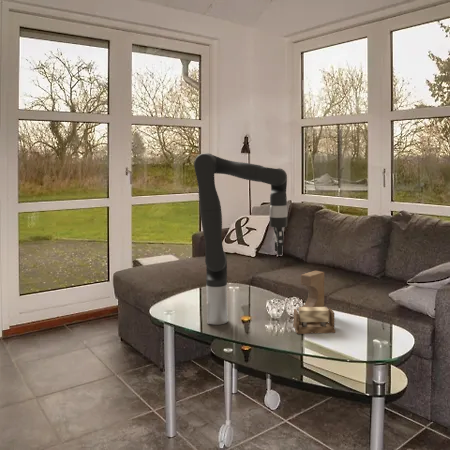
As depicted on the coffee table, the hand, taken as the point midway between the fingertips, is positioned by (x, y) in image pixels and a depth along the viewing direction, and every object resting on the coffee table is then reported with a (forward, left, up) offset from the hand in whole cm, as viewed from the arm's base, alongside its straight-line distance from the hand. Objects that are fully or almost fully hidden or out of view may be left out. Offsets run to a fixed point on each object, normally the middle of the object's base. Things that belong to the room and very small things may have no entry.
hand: (278, 253), depth 220 cm
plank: (+14, -7, -28) cm, 32 cm away
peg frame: (+14, -7, -32) cm, 36 cm away
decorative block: (+17, +11, -32) cm, 38 cm away
